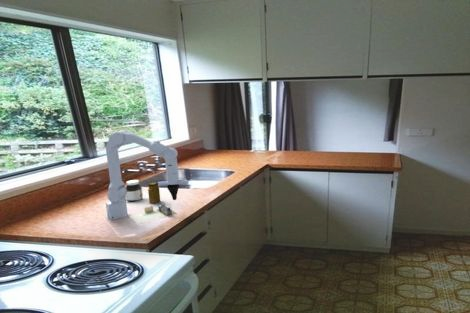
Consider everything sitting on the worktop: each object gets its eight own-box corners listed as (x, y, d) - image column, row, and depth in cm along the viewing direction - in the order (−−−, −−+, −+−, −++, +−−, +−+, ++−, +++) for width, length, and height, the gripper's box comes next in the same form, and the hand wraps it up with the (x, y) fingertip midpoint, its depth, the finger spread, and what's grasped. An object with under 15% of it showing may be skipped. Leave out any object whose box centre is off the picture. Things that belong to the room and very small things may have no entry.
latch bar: (157, 209, 166) (157, 203, 166) (163, 208, 168) (162, 202, 168) (166, 215, 157) (166, 209, 156) (172, 214, 159) (172, 207, 158)
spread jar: (136, 203, 182) (134, 183, 180) (118, 203, 185) (116, 183, 183) (146, 196, 194) (144, 178, 192) (129, 196, 196) (127, 178, 194)
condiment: (150, 202, 183) (147, 182, 181) (165, 201, 184) (163, 181, 182) (147, 206, 176) (145, 185, 174) (163, 205, 177) (161, 184, 175)
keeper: (145, 213, 163) (145, 208, 162) (144, 212, 164) (144, 207, 164) (153, 211, 165) (153, 206, 164) (152, 210, 166) (151, 206, 166)
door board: (138, 226, 149) (137, 224, 149) (129, 218, 160) (129, 216, 160) (177, 215, 160) (177, 213, 160) (167, 208, 171) (166, 206, 171)
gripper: (188, 170, 160) (190, 196, 162) (159, 171, 161) (162, 197, 163) (185, 173, 153) (188, 200, 156) (155, 174, 154) (158, 202, 156)
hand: (174, 199), depth 159 cm, fingers closed
